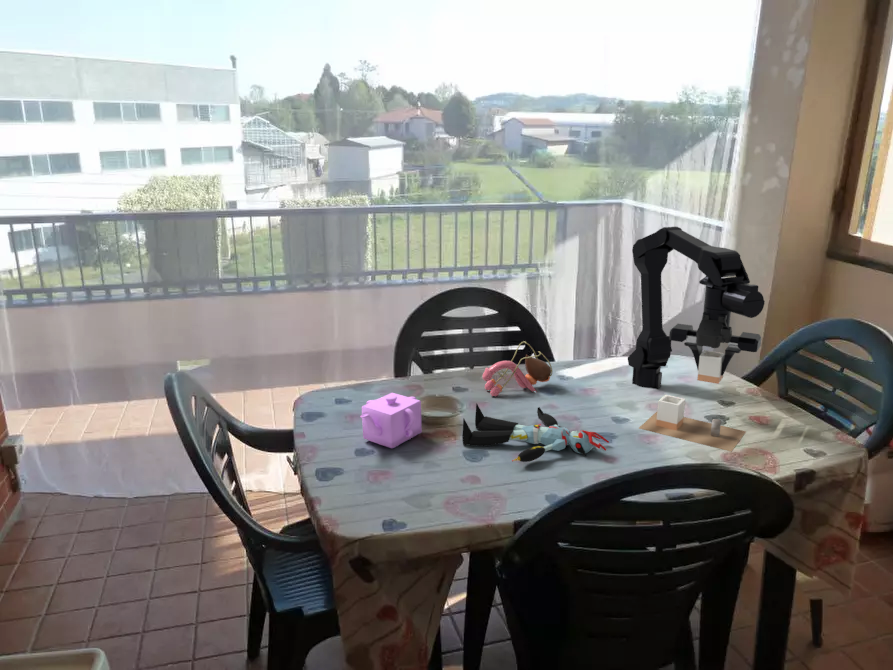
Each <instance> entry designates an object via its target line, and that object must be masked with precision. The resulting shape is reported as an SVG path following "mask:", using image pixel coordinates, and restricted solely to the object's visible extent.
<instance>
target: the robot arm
mask: <svg viewBox="0 0 893 670" xmlns="http://www.w3.org/2000/svg"><path fill="white" fill-rule="evenodd" d="M674 250H675V251H676V252H678V253H680V254H681V255H683V256H685V257H687V258H688V259H690V260H692V261H693V262H694V263H696V265H697V267H698V270H699V271H700V272H701V273H703V275H704V276H705V277H703V278H702V279H700V280H699V282H698V283H699V284H700V285H704V286H705V291H704V303H703V313H702V316H701V321H700V322H699V324H698V325H699V326H698V328H697V330H695V329H694V327H693V325H692V324H691V325H690V324H682V323H676V324H675V325H674V326H673V327H671V329H670V330H669V334H668V335H667V333H666V332H665V331H664V328H663V300H662V299H663V296H662V295H663V293H662V289H663V288H662V273H663V270H664V268H665V267H666V265H667V263H668V258H669V257H668V256H669V254H670V252H672V251H674ZM632 257H633V258H632V259H633V263H634V266H635V267H636V268H637V271H638V272H639V273H640V291H641V293H640V294H641V321H642V323H641V325H642V326H641V327H642V329H641V331H640V333H639V335H638V337H637V339H636V341H635V342H636V343H635V349H634V350H633V351H632V353H630V354H629V356H627V362H628V366H630V367H632V369H633V370H632V380H631V381H632V382H631V384H632V385H636V386H637V387H641V388H646V389H647V388H648V389H656V390H659V389H660V388H662V380H663V379H662V378H663V377H662V376H663V372H662V371H661V367H666V366H667V364H668V362H669V358H671V355H672V354H671V353H672V352H673V349H672V342H679V343H683V342H684V346H686V347H689V349H690V350H691V353H692V355H693V357H694V361H695V365H696V369H697V370H698V369H699V358H700V355H701V353H702V352H703V351H704V350H703V349H704V347H707V348H711V349H718V348H720V347H721V343H722V344H727V346H726V349H724V353H725V356H724V361H723V365H722V369H721V375H722V376H723V377H724V375H725V372H726V371H727V368H728V366H729V365H730V363H731V361H732V359H733V357H734V355H735V354H740V353H741V352H743V351H744V352H750V353H757V352H758V351H759V350H760V347H761V346H762V345H761V344H762V336H761V335H760V333H753V332H747V331H746V332H745V331H742V333H741V334H740V335H733V330H732V329H733V328H732V326H730V325H731V315H732V313H733V314H737V315H739V316H742V317H746V318H749V319H753V318H757V316H759V315H760V314H761V312H762V311H763V310H764V307H765V304H766V303H765V300H764V295H763V294H762V293H761V291H759V285H758V284H751V283H750V282H751V280H750V278H749V274H748V273H747V271H746V268H745V265H744V263H743V261H742V258H741V255H740V253H739V252H738V251H736V250H734V249H730V248H726V247H721V246H713V245H710V244H708V243H707V242H705V241H703V240H701V239H699V238H697V237H695V236H693V235H692V234H690V233H688V232H686V231H684V230H683V229H682V228H681V227H679V226H665V227H661V228H659V229H658V230H657V231H656V232H653V233H651V234H649V235H646V236H644V237H643V238H640V239H637V240H636V241H635V243H633V246H632Z"/></svg>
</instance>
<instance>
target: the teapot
mask: <svg viewBox="0 0 893 670" xmlns="http://www.w3.org/2000/svg"><path fill="white" fill-rule="evenodd" d="M359 418H361V421H362V422H361V423H362V438H364V439H363V440H366V439H367V440H366V441H370V442H371V443H375V444H377V445H380V446H384V447H386V448H390V449H394V448H397V447H398V446H399V445H401V444H403V443H405V442H407V441H408V440H412V439H413V438H415V437H416V436H417V435H419V434H421V433H423V432H422V430H423V429H422V401H421V400H420V399H417V397H416V396H406V395H402V394H399V393H394V392H389V393H388V394H385V395H383V396H382V397H379V398H376V399H369V400H367V401H366V404H364V405H362V406H361V415H360V416H359ZM411 438H412V439H411ZM396 446H397V447H396Z"/></svg>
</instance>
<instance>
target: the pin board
mask: <svg viewBox="0 0 893 670" xmlns="http://www.w3.org/2000/svg"><path fill="white" fill-rule="evenodd" d="M656 420H657V411H655V412H654V413H653V414H652V415H651V416H650V417H649V418H648V419H647V420H645V422H644V423H642V424H641V425H640V426H639V427H638V429H639V430H643V431H648V432H652V433H655V434H659V435H663V436H667V437H671V438H675V439H679V440H683V441H688V442H692V443H695V444H699V445H702V446H703V445H704V446H708V447H711V448H714V449H720V450H724V451H727V452H730V453H731V452H732V451H733V450H734V449H735V447H736V446H737V445H738V444H739V442H740V441H741V439H742V438H743V436H744V435H745V434H746V432H747V431H746V430H742V429H738V428H733V427H729V426H724V425H722V424H721V423H722V421H721V419H718V418H714V419H712V420H711V422H706V421H704V420H699V419H694V418H690V417H685V416H684V419H683V424H682V425H681V426H680V427H679V428H678V429H677V430H673V429H669V428H665V427H661V426H656Z"/></svg>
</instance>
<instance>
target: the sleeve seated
mask: <svg viewBox="0 0 893 670" xmlns="http://www.w3.org/2000/svg"><path fill="white" fill-rule="evenodd" d="M685 407H686V398H682V397H678V396H673V395H669V394H664V395H663V396H662V397H661V398H660V399H659V400H658V401H657V410H656V412H657V420H656V426H661V427H665V428H669V429H673V430H677V429H678V428H679V427H680V426H681V425H682V424H683V419H684V417H685Z"/></svg>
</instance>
